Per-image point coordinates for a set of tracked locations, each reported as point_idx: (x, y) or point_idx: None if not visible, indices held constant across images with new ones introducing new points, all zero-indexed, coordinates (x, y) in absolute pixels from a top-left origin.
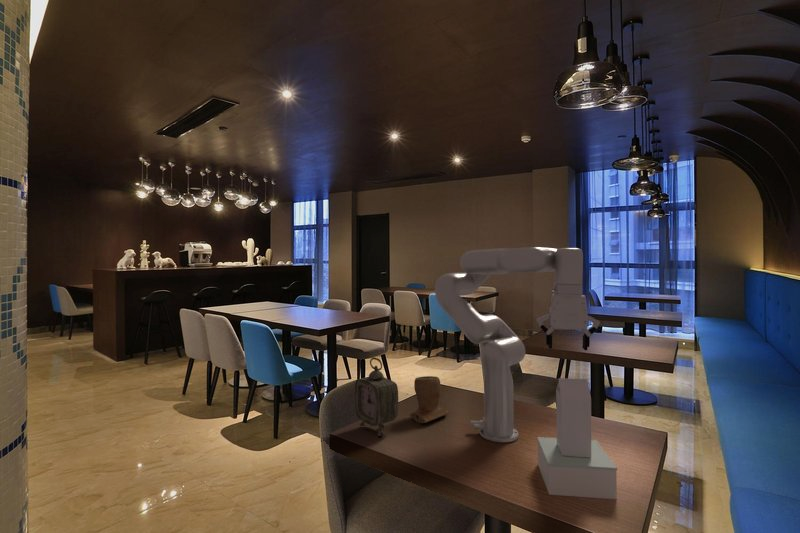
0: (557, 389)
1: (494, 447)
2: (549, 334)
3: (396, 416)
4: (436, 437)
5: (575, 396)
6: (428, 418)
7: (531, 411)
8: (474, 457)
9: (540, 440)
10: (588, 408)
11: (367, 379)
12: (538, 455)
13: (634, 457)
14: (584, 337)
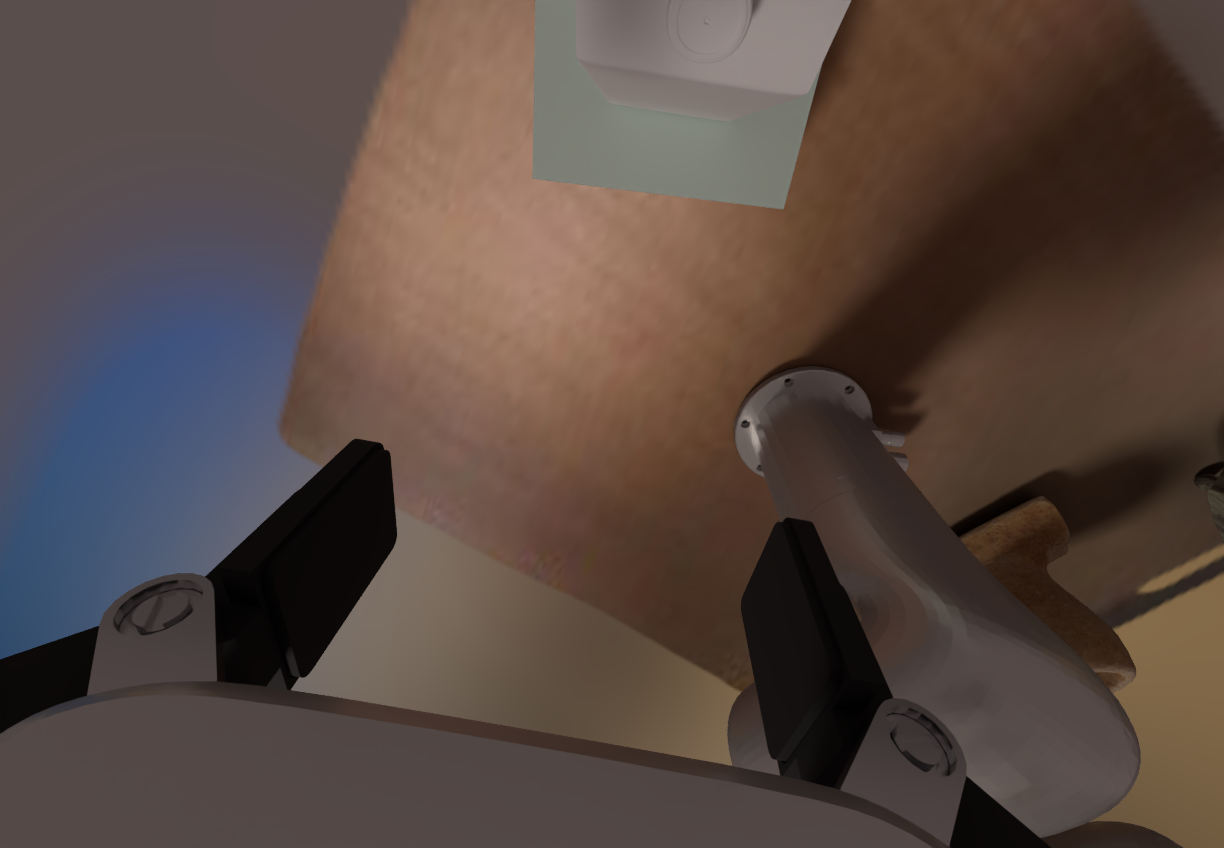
0: (801, 83)
1: (857, 332)
2: (885, 702)
3: (1219, 483)
4: (1032, 409)
5: None
6: (1029, 511)
7: (624, 578)
8: (972, 250)
9: (785, 168)
10: None
11: None
12: None
13: (399, 261)
14: (287, 586)
